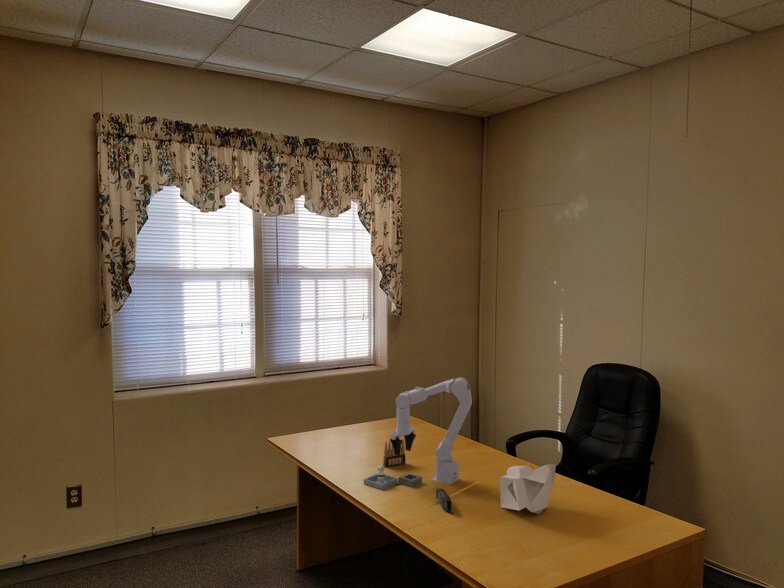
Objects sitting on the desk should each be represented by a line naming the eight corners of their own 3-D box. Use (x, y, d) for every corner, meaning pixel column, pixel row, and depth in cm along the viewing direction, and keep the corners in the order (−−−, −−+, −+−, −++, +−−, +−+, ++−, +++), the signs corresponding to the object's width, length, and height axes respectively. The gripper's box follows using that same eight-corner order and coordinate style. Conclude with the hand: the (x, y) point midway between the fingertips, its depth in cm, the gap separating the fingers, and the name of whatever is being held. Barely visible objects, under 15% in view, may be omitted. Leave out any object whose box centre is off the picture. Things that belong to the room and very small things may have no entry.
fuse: (385, 483, 242) (385, 466, 241) (381, 485, 239) (381, 468, 239) (380, 481, 243) (380, 464, 243) (375, 483, 241) (375, 466, 241)
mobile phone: (435, 487, 227) (447, 501, 212) (442, 486, 227) (455, 500, 213) (434, 500, 227) (447, 515, 212) (442, 499, 227) (455, 514, 213)
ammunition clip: (403, 463, 268) (403, 438, 267) (405, 464, 266) (405, 439, 266) (383, 467, 263) (383, 441, 262) (385, 468, 261) (385, 442, 260)
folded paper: (496, 463, 217) (532, 481, 203) (540, 452, 231) (576, 468, 217) (493, 507, 219) (528, 527, 205) (536, 494, 233) (571, 512, 219)
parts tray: (397, 484, 242) (397, 478, 242) (382, 491, 234) (382, 484, 234) (379, 478, 248) (379, 472, 248) (363, 485, 241) (363, 479, 241)
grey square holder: (422, 483, 243) (422, 476, 243) (412, 488, 237) (412, 481, 237) (408, 479, 247) (408, 472, 247) (398, 484, 242) (398, 477, 242)
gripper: (406, 416, 258) (405, 446, 259) (385, 423, 247) (384, 454, 248) (418, 419, 254) (418, 450, 254) (398, 425, 243) (397, 458, 243)
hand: (402, 452), depth 251 cm, fingers open, 7 cm apart
